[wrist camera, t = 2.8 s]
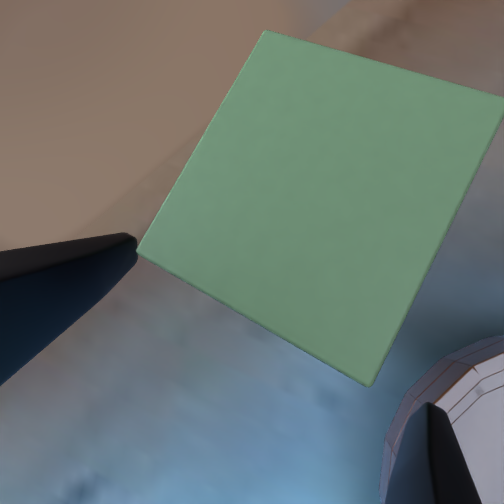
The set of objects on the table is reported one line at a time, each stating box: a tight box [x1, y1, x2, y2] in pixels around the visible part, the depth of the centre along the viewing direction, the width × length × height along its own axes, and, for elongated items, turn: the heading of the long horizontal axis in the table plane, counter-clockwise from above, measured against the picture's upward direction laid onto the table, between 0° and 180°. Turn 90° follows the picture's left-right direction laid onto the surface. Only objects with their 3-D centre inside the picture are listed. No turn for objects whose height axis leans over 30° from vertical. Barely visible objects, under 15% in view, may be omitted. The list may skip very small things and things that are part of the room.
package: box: [136, 30, 504, 388], centre depth 13 cm, size 6×6×13 cm
